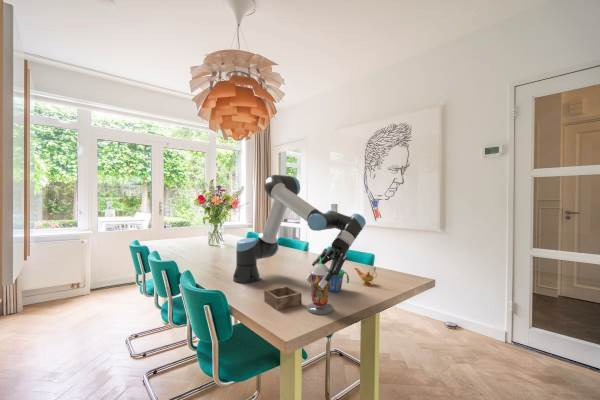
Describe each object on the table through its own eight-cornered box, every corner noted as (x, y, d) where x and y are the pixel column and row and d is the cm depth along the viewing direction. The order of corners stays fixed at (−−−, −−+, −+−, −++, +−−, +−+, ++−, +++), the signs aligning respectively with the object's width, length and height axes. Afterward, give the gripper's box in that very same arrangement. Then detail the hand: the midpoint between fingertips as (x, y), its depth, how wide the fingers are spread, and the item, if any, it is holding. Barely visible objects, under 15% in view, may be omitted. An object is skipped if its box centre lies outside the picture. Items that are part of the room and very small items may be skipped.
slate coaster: (306, 314, 114) (306, 311, 114) (307, 304, 125) (307, 301, 125) (333, 315, 113) (333, 312, 113) (332, 305, 124) (332, 302, 124)
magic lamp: (359, 278, 166) (359, 260, 166) (381, 287, 150) (381, 266, 150) (349, 280, 163) (350, 261, 163) (371, 289, 147) (371, 268, 147)
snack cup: (319, 293, 140) (319, 273, 140) (318, 286, 150) (318, 267, 150) (350, 293, 139) (350, 273, 139) (347, 287, 150) (347, 268, 150)
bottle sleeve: (277, 310, 118) (277, 298, 118) (264, 301, 128) (264, 290, 128) (301, 304, 125) (301, 293, 125) (287, 296, 135) (287, 285, 135)
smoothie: (316, 309, 114) (317, 260, 114) (306, 302, 121) (307, 256, 121) (333, 305, 118) (334, 258, 117) (323, 299, 125) (323, 254, 125)
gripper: (364, 251, 119) (335, 296, 110) (332, 244, 137) (304, 282, 128) (355, 240, 116) (324, 285, 107) (323, 234, 134) (295, 272, 125)
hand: (313, 283), depth 118 cm, fingers closed on smoothie, 8 cm apart
